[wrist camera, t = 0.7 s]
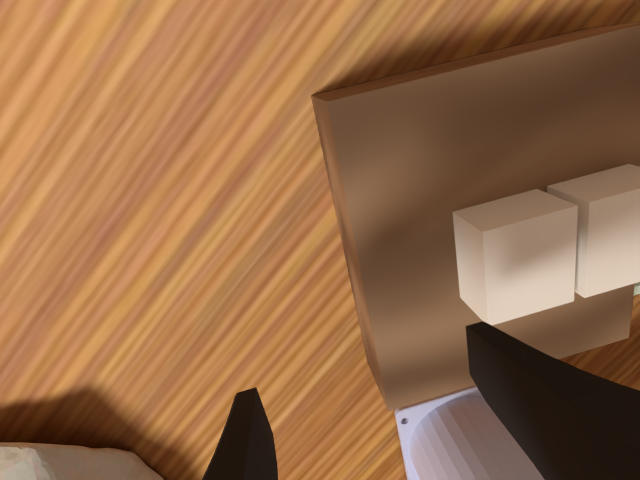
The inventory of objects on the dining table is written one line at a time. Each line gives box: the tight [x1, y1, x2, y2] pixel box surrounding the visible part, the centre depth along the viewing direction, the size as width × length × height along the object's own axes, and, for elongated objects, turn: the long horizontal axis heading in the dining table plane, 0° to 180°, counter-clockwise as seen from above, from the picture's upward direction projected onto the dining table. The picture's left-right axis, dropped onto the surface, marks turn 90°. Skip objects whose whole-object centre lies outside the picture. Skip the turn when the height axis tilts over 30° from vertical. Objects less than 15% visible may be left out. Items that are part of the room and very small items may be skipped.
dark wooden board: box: [311, 22, 640, 411], centre depth 21 cm, size 16×14×4 cm
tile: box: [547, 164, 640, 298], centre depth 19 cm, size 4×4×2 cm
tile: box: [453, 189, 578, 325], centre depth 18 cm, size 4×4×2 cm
